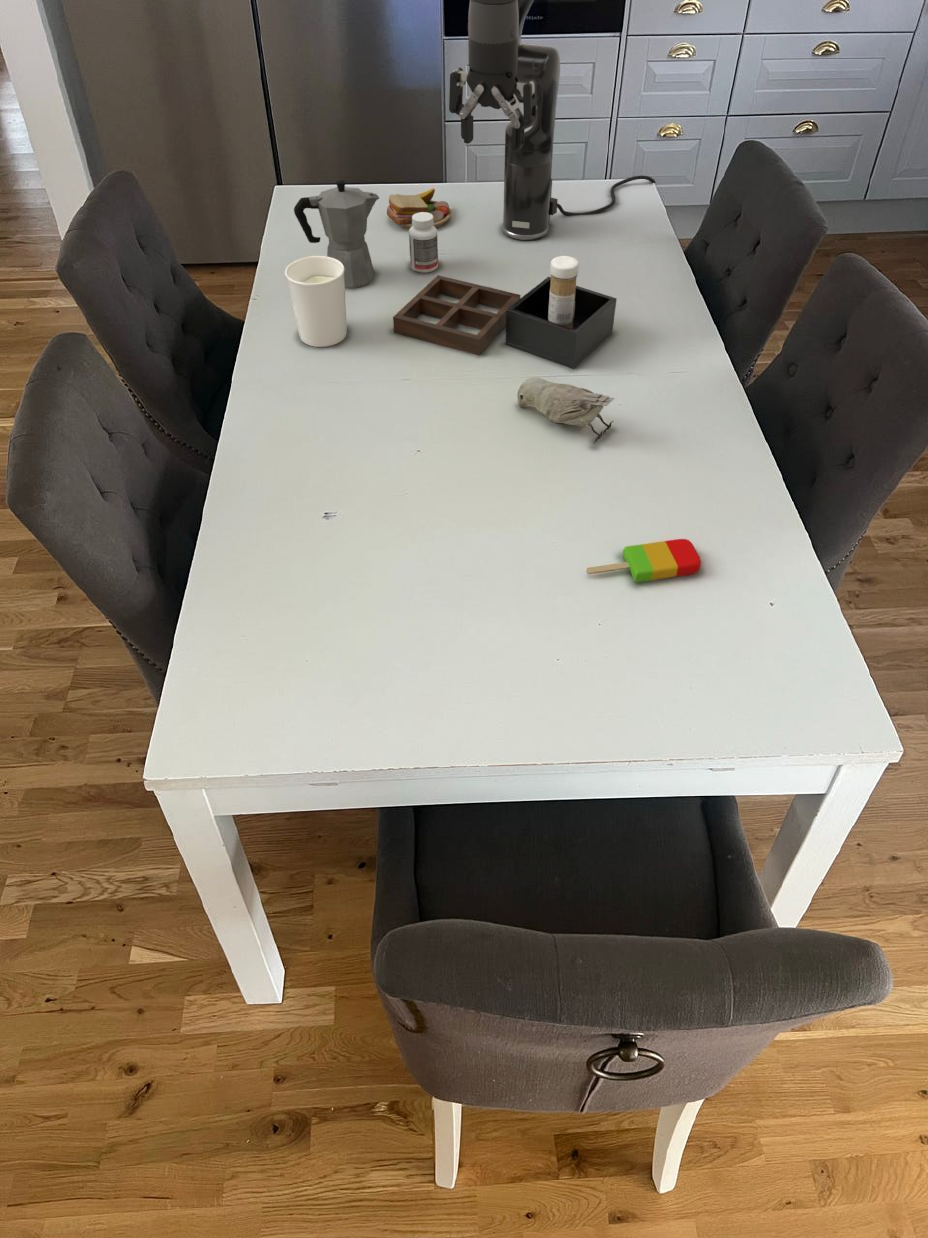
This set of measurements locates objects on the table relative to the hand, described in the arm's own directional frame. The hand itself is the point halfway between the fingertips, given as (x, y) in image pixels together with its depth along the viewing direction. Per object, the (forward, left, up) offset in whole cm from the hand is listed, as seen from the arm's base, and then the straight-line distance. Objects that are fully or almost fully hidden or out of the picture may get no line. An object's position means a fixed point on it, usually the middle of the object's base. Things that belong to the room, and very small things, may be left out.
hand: (492, 145), depth 150 cm
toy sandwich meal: (-19, -30, -27) cm, 45 cm away
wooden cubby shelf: (+10, 0, -27) cm, 28 cm away
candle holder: (+27, -17, -27) cm, 42 cm away
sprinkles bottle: (+5, +18, -26) cm, 32 cm away
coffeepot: (+9, -27, -27) cm, 39 cm away
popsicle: (+48, +56, -27) cm, 78 cm away
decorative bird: (+26, +31, -27) cm, 49 cm away
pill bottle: (-3, -17, -27) cm, 32 cm away
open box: (+5, +18, -27) cm, 32 cm away
